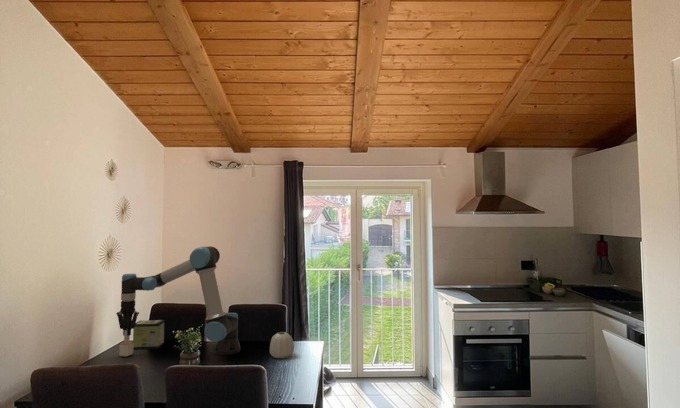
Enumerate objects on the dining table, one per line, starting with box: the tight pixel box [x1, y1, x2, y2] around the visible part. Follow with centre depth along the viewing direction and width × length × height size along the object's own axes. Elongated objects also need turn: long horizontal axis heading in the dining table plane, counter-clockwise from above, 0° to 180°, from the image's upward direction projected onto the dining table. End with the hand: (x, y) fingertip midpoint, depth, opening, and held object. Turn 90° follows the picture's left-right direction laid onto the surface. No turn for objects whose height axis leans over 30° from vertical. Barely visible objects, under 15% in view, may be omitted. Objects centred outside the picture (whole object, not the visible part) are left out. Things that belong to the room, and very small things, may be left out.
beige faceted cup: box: [118, 341, 134, 357], centre depth 226 cm, size 5×5×7 cm
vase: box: [269, 331, 295, 359], centre depth 224 cm, size 14×14×13 cm
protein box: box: [132, 319, 165, 350], centre depth 245 cm, size 10×16×16 cm
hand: (126, 341), depth 226 cm, fingers closed
